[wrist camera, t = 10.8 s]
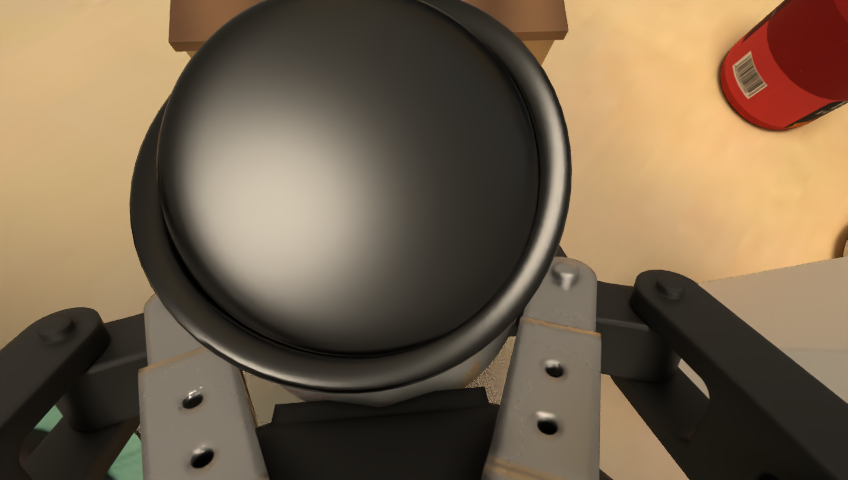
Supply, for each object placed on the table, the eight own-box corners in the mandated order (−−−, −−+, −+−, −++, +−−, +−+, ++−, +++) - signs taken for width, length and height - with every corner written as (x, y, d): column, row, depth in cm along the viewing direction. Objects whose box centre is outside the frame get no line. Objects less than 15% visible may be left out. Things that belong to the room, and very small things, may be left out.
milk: (720, 361, 30) (1570, 426, 8) (655, 420, 29) (1443, 673, 7) (658, 287, 31) (1289, 172, 9) (594, 342, 29) (1134, 360, 8)
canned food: (792, 152, 33) (979, 64, 23) (698, 95, 34) (838, -18, 23) (830, 77, 35) (1022, -38, 24) (740, 24, 36) (889, -112, 25)
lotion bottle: (397, 234, 24) (410, -241, 4) (466, 318, 23) (856, 202, 4) (310, 301, 23) (-193, 79, 3) (379, 392, 22) (263, 796, 3)
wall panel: (233, 127, 31) (167, 42, 22) (234, 93, 32) (170, -3, 23) (522, 114, 33) (569, 30, 24) (518, 82, 33) (562, -12, 24)
